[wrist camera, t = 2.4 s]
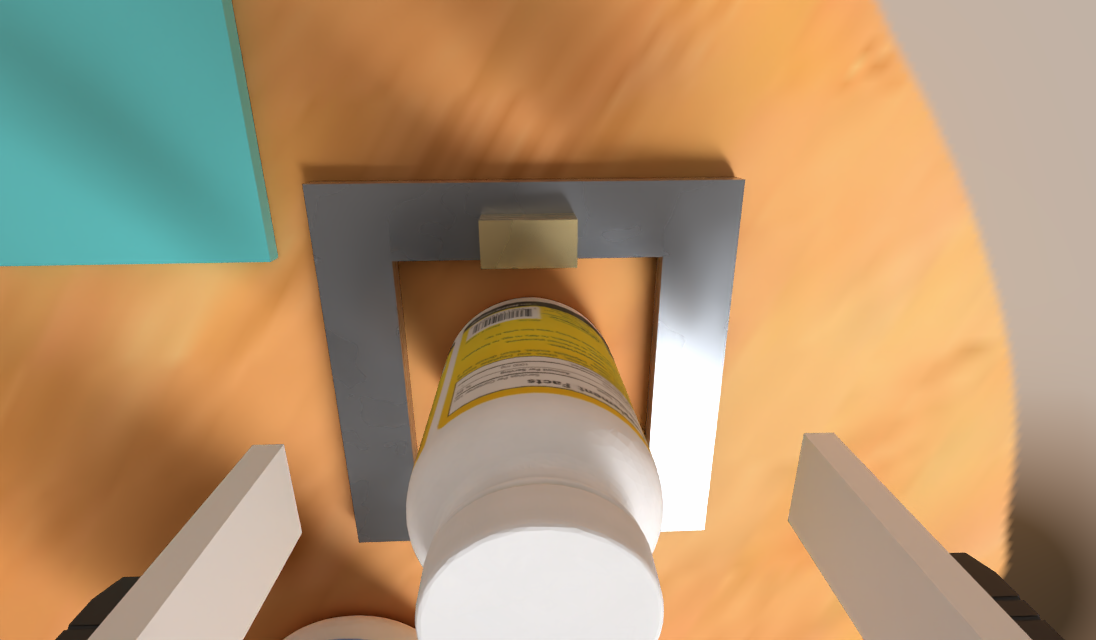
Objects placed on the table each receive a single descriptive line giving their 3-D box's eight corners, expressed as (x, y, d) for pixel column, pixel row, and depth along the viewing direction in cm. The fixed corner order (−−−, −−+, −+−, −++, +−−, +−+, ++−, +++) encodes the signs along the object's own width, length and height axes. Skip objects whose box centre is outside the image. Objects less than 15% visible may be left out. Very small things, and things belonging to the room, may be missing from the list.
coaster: (3, 262, 18) (-14, 266, 18) (-112, -57, 15) (-137, -64, 14) (278, 257, 18) (270, 262, 18) (222, -55, 15) (210, -61, 15)
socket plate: (364, 528, 22) (349, 565, 21) (311, 181, 18) (286, 188, 16) (698, 516, 23) (713, 551, 21) (735, 177, 18) (760, 183, 16)
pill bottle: (544, 468, 22) (563, 781, 12) (414, 385, 20) (303, 659, 10) (646, 356, 20) (774, 600, 10) (514, 257, 19) (505, 425, 8)
